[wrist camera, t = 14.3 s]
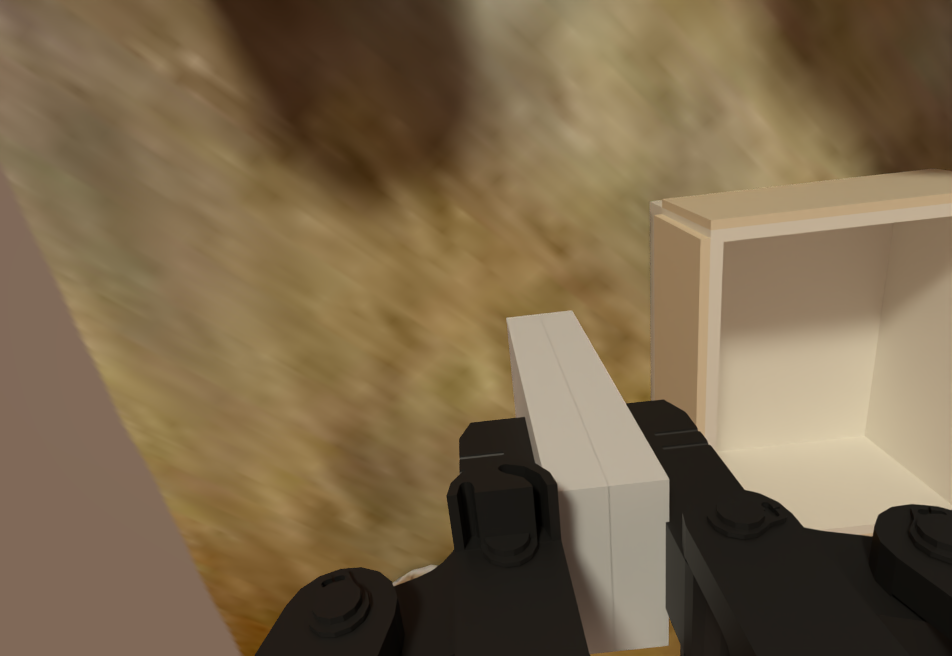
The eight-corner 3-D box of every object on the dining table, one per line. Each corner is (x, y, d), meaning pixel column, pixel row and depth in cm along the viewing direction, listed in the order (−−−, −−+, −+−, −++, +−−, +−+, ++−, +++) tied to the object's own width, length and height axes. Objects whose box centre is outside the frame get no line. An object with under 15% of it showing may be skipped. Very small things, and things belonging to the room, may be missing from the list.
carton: (642, 194, 47) (701, 221, 35) (904, 165, 46) (1047, 182, 35) (645, 467, 55) (693, 558, 44) (865, 443, 55) (971, 528, 44)
